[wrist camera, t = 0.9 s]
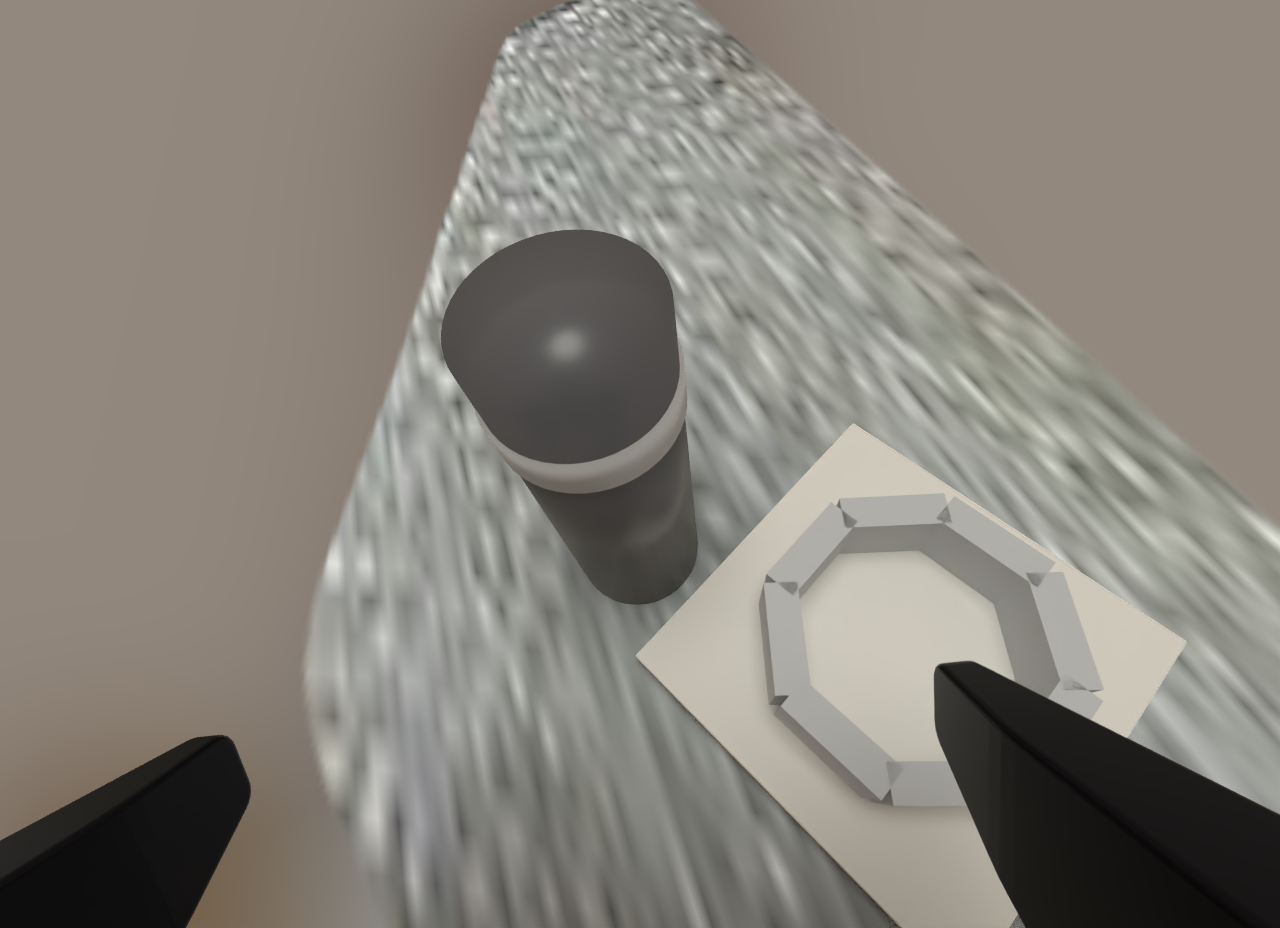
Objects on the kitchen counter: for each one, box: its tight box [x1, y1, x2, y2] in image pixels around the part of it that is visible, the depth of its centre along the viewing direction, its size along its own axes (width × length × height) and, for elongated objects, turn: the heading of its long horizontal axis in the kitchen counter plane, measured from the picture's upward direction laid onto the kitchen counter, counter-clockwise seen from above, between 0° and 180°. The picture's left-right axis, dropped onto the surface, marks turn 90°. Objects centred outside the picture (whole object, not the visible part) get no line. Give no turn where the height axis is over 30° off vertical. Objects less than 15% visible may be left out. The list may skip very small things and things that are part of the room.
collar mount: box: [635, 423, 1187, 928], centre depth 18 cm, size 12×12×4 cm
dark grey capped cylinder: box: [441, 230, 698, 604], centre depth 17 cm, size 5×5×13 cm
